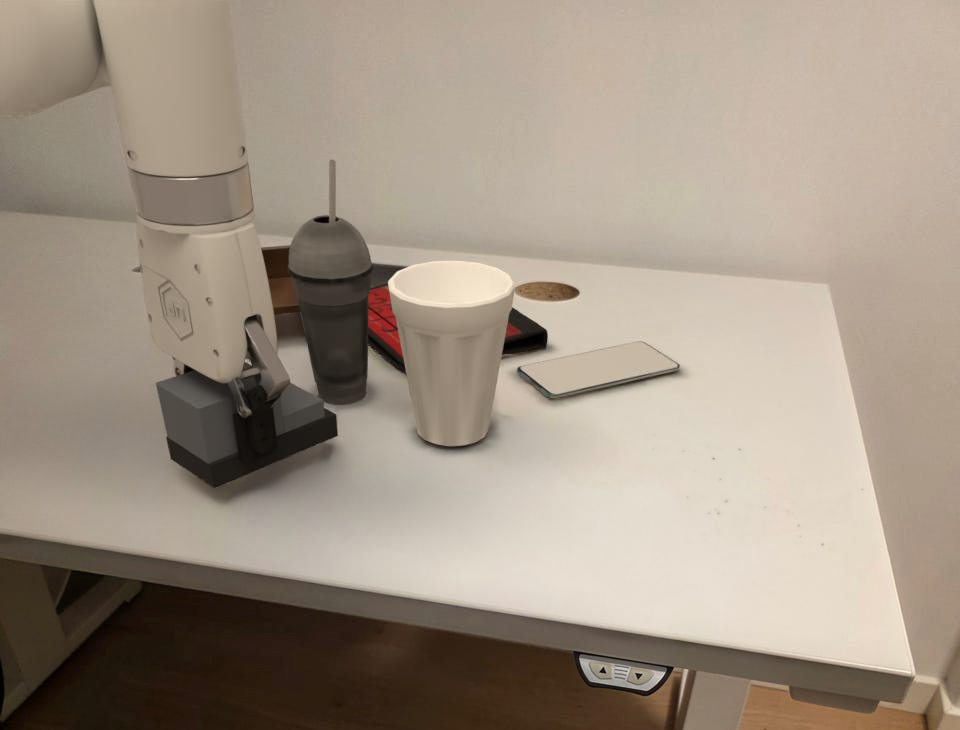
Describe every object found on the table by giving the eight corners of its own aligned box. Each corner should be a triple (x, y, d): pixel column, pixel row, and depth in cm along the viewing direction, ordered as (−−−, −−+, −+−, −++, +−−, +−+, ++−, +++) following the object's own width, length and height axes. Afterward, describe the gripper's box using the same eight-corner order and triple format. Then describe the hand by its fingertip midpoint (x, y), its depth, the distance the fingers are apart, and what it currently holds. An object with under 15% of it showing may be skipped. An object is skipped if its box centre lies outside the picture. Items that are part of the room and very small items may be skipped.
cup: (372, 429, 79) (361, 278, 71) (458, 396, 84) (458, 251, 76) (445, 474, 74) (443, 316, 65) (533, 435, 79) (541, 284, 70)
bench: (192, 354, 91) (178, 284, 86) (188, 321, 97) (174, 253, 92) (331, 340, 94) (324, 271, 89) (318, 308, 100) (311, 243, 96)
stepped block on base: (214, 488, 68) (199, 409, 64) (170, 459, 71) (153, 381, 67) (338, 436, 75) (332, 361, 70) (293, 411, 78) (285, 337, 73)
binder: (451, 263, 105) (549, 327, 91) (452, 283, 106) (549, 349, 93) (323, 292, 99) (407, 365, 85) (326, 313, 101) (409, 387, 87)
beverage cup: (335, 370, 88) (313, 142, 75) (396, 388, 85) (384, 155, 72) (286, 399, 83) (254, 161, 70) (350, 419, 81) (328, 175, 68)
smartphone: (514, 366, 88) (642, 340, 93) (514, 372, 88) (641, 345, 93) (550, 396, 83) (682, 366, 88) (550, 401, 83) (681, 371, 89)
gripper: (73, 175, 61) (131, 418, 73) (221, 238, 52) (259, 502, 64) (171, 157, 65) (211, 390, 77) (322, 213, 57) (341, 465, 69)
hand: (233, 438), depth 71 cm, fingers closed on stepped block on base, 6 cm apart
